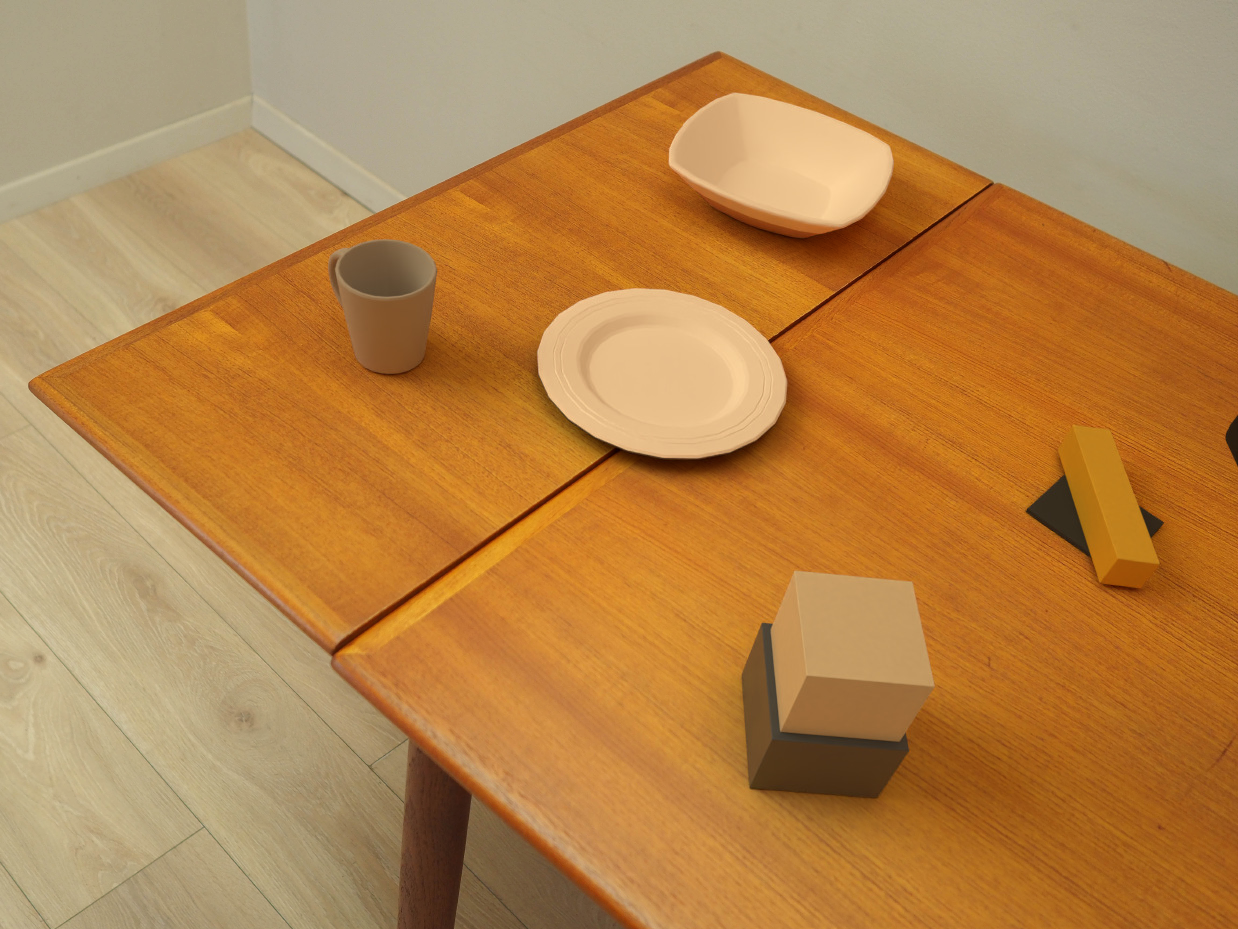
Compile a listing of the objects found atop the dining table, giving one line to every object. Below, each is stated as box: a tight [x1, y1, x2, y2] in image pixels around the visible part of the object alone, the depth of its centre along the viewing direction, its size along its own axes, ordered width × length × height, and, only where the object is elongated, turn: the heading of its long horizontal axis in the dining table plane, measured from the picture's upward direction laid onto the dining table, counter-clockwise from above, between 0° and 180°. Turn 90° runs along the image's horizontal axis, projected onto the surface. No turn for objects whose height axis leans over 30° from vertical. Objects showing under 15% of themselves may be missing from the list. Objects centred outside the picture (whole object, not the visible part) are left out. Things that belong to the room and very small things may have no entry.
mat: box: [1025, 473, 1165, 558], centre depth 83 cm, size 8×8×1 cm
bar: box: [1057, 424, 1161, 589], centre depth 82 cm, size 14×3×3 cm, turn 176°
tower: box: [741, 570, 936, 799], centre depth 62 cm, size 8×8×12 cm
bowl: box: [668, 92, 895, 239], centre depth 108 cm, size 22×22×5 cm
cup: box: [327, 238, 438, 375], centre depth 83 cm, size 8×10×8 cm
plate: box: [536, 287, 788, 461], centre depth 87 cm, size 21×21×2 cm
